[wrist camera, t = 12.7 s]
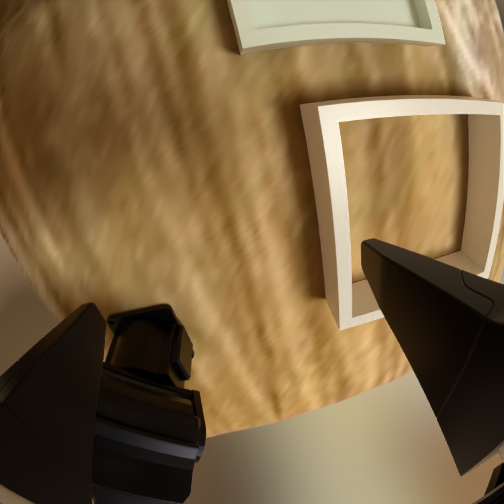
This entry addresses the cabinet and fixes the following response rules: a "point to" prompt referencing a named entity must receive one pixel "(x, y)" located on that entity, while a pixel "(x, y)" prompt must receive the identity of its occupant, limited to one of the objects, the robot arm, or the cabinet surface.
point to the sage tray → (333, 23)
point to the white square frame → (335, 193)
